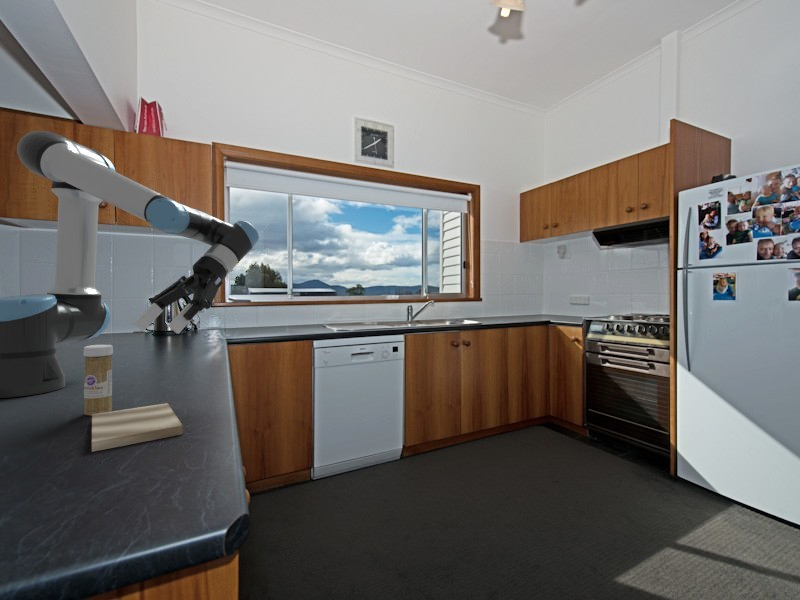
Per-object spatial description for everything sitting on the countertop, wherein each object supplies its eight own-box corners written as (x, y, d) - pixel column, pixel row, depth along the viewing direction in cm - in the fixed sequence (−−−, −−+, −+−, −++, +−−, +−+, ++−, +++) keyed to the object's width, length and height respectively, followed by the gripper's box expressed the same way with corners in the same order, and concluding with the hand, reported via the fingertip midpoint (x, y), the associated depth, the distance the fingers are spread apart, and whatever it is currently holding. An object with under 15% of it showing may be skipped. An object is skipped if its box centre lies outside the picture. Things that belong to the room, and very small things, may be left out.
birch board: (92, 422, 71) (92, 414, 71) (167, 410, 78) (167, 403, 78) (91, 451, 58) (91, 441, 58) (182, 434, 65) (182, 425, 65)
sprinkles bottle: (79, 417, 74) (78, 347, 74) (90, 410, 78) (90, 344, 78) (107, 415, 75) (107, 346, 75) (116, 408, 79) (116, 343, 79)
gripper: (257, 275, 95) (201, 342, 82) (194, 277, 107) (136, 336, 94) (239, 251, 91) (176, 318, 77) (175, 257, 102) (112, 315, 89)
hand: (154, 328), depth 86 cm, fingers open, 13 cm apart
